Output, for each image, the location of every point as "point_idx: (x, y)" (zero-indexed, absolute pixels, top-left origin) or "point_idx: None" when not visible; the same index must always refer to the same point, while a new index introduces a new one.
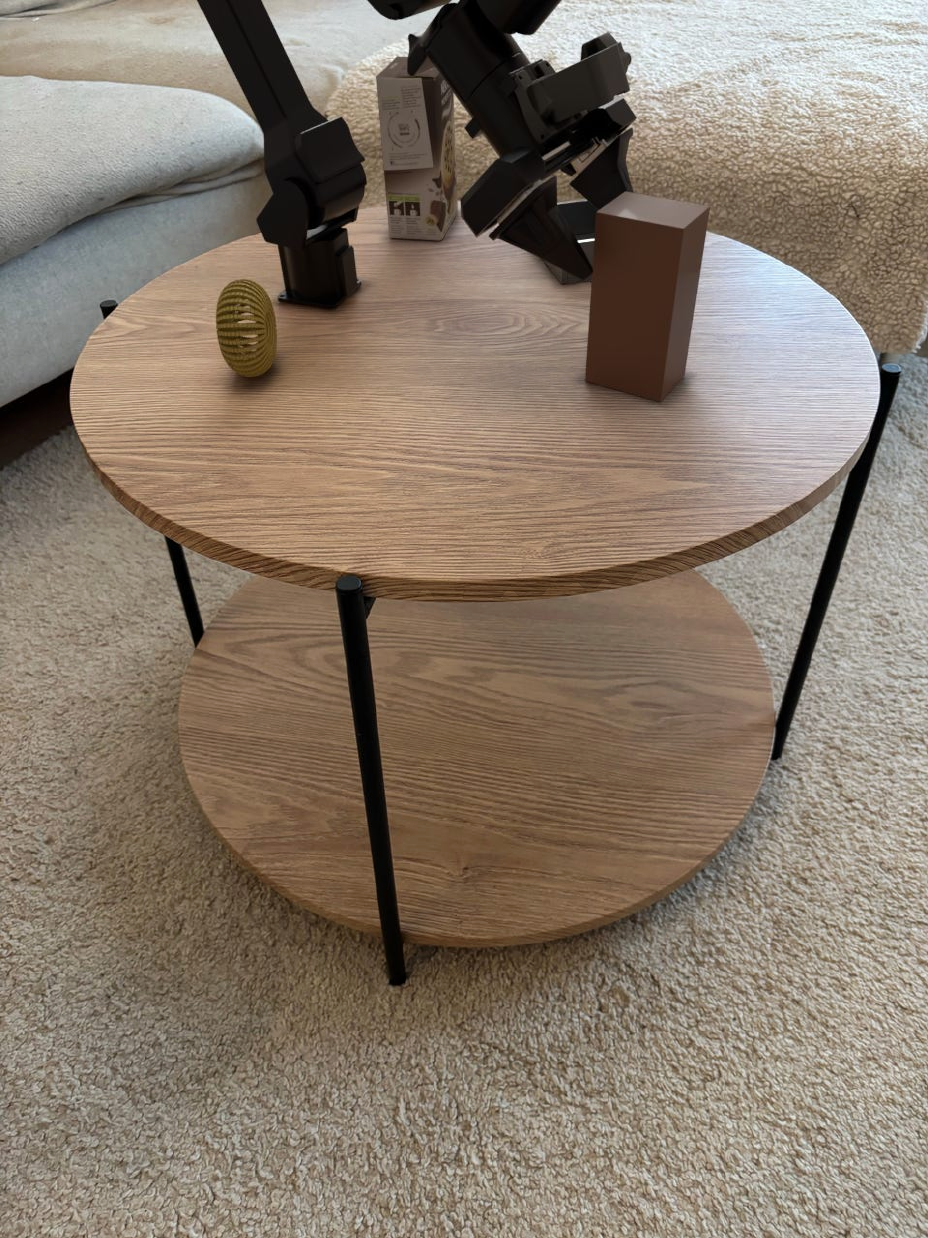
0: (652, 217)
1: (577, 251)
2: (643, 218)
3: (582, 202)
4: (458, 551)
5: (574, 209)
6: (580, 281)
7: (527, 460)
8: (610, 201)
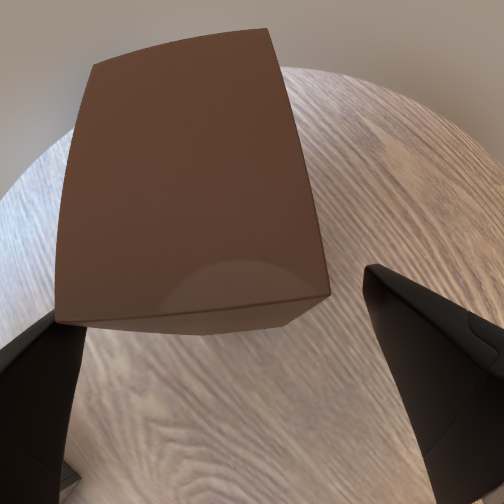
0: (243, 99)
1: (420, 288)
2: (271, 113)
3: None
4: None
5: None
6: (63, 460)
7: (454, 268)
8: (45, 408)
